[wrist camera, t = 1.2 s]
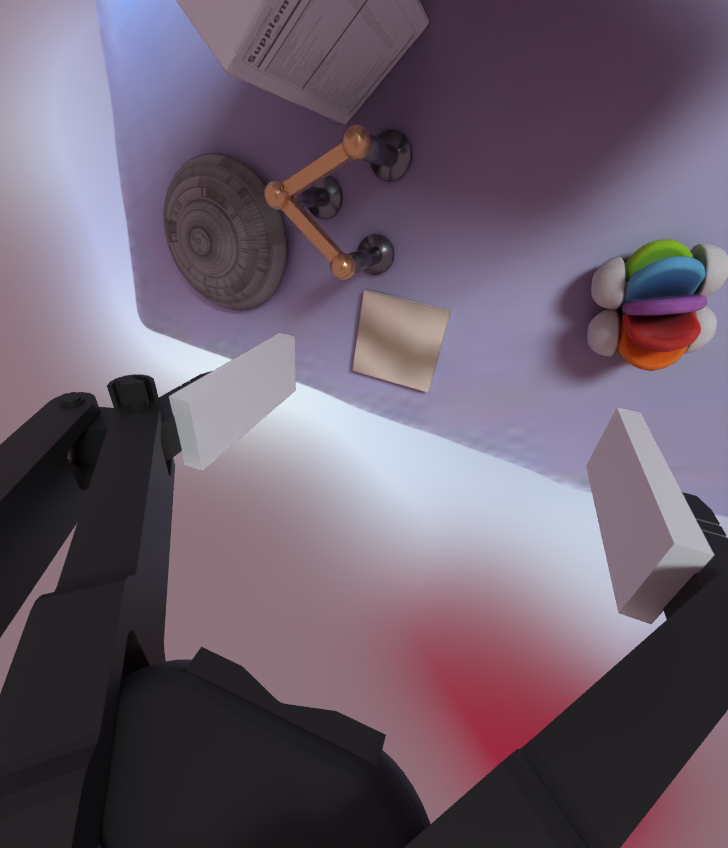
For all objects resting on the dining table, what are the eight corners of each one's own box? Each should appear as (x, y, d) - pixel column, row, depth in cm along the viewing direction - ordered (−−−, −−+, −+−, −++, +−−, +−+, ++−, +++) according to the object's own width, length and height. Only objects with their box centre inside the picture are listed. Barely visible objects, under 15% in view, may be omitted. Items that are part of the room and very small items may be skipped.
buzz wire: (312, 119, 34) (248, 91, 26) (415, 134, 32) (381, 110, 24) (304, 257, 40) (250, 271, 32) (390, 277, 38) (356, 297, 30)
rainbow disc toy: (582, 357, 36) (595, 387, 30) (592, 246, 32) (609, 256, 26) (694, 351, 33) (733, 383, 27) (721, 227, 29) (775, 233, 23)
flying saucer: (163, 257, 46) (125, 263, 42) (194, 121, 37) (150, 109, 33) (263, 332, 46) (236, 345, 42) (315, 214, 38) (289, 215, 33)
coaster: (366, 289, 40) (363, 291, 39) (451, 309, 38) (449, 311, 37) (354, 368, 44) (352, 370, 44) (429, 389, 43) (427, 392, 42)
